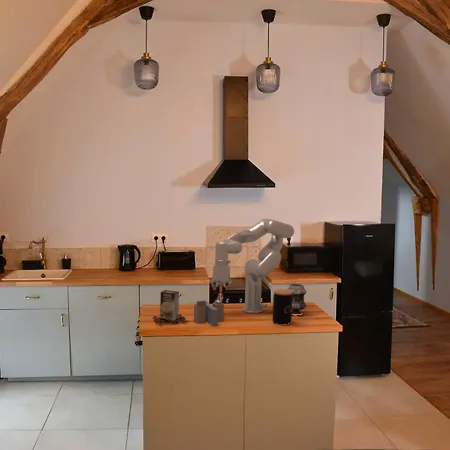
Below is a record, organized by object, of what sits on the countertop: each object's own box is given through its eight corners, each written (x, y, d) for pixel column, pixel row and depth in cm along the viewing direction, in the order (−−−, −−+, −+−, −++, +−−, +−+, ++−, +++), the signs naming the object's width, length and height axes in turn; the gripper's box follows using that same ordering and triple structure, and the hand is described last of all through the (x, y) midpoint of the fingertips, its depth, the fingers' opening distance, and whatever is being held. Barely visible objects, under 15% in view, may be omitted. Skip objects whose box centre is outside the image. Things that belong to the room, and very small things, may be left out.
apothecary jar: (298, 310, 316) (300, 282, 314) (309, 316, 305) (310, 286, 303) (281, 312, 311) (282, 283, 309) (291, 317, 300) (293, 287, 298)
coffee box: (159, 320, 287) (159, 291, 285) (164, 317, 293) (164, 289, 291) (174, 322, 284) (174, 293, 282) (178, 319, 290) (179, 291, 288)
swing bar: (221, 303, 287) (221, 289, 286) (214, 303, 287) (215, 289, 286) (223, 298, 301) (224, 284, 300) (217, 297, 301) (218, 284, 300)
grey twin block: (215, 315, 300) (216, 294, 299) (228, 324, 281) (229, 302, 280) (189, 317, 294) (190, 296, 293) (201, 327, 275) (201, 304, 274)
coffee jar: (286, 326, 281) (287, 294, 279) (268, 323, 287) (270, 291, 285) (294, 322, 290) (295, 291, 288) (277, 319, 296) (278, 288, 294)
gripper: (235, 262, 301) (234, 292, 302) (208, 260, 302) (207, 291, 304) (235, 264, 293) (234, 295, 295) (207, 263, 294) (206, 294, 296)
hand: (220, 293), depth 299 cm, fingers closed on swing bar, 2 cm apart
